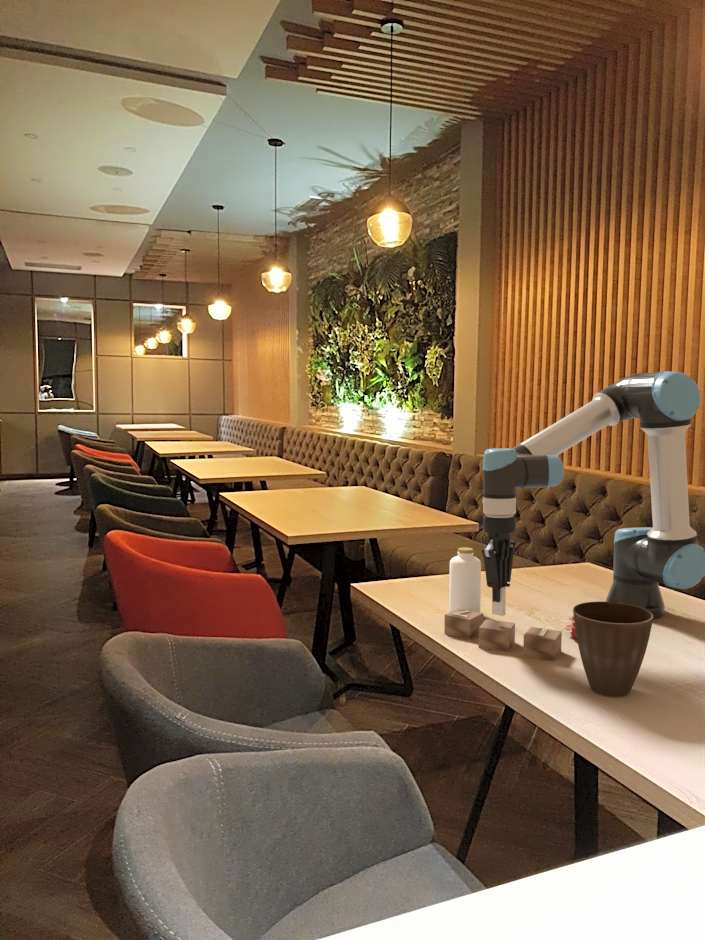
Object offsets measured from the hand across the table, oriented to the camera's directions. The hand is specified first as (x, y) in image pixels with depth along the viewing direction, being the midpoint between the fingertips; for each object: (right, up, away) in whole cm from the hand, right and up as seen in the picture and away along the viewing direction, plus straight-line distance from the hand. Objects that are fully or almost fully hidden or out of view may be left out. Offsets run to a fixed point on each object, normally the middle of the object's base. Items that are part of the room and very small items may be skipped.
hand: (498, 614), depth 173 cm
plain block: (0, -8, +1) cm, 8 cm away
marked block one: (+9, -8, -5) cm, 13 cm away
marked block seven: (-7, -7, +10) cm, 14 cm away
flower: (+22, -7, +6) cm, 24 cm away
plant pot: (+17, -10, -27) cm, 33 cm away
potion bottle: (-4, -5, +25) cm, 26 cm away
